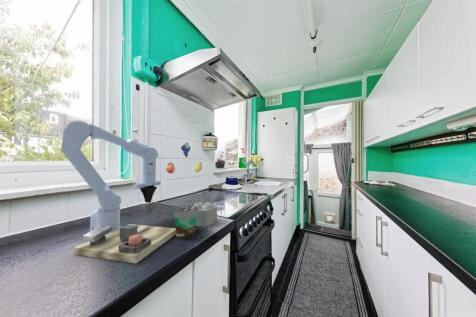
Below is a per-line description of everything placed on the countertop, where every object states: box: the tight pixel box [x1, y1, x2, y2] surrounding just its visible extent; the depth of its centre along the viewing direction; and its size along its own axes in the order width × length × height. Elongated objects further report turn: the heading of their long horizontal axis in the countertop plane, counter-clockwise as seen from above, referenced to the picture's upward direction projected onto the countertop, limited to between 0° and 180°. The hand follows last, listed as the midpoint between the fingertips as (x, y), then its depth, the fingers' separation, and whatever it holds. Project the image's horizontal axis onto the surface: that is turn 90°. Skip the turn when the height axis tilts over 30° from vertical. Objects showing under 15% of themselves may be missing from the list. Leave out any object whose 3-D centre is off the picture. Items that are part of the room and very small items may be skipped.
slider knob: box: [120, 224, 138, 240], centre depth 56 cm, size 4×3×4 cm
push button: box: [128, 234, 143, 247], centre depth 50 cm, size 4×4×3 cm
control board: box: [72, 223, 176, 264], centre depth 57 cm, size 22×20×4 cm
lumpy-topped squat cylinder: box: [193, 201, 218, 228], centre depth 79 cm, size 10×13×9 cm
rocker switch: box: [82, 225, 113, 242], centre depth 53 cm, size 4×6×2 cm, turn 168°
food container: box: [173, 204, 199, 239], centre depth 65 cm, size 12×6×10 cm, turn 168°
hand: (148, 202), depth 77 cm, fingers closed
